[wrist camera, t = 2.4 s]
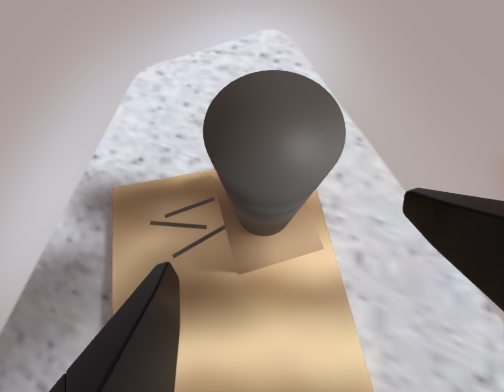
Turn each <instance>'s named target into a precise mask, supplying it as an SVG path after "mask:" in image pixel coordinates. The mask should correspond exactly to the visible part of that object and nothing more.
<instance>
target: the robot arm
mask: <svg viewBox="0 0 504 392" xmlns="http://www.w3.org/2000/svg"><path fill="white" fill-rule="evenodd" d="M403 213H404V215H405V216H406V217H407V218H408V219H409V221H410V222H411V223H412V224H413V225H414V226H415V227H416V228H417V229H418V230H419V232H420V233H421V234H422V235H423V236H424V237H425V238H426V239H427V240H428V242H429V243H430V244H431V245H432V246H433V247H434V248H435V249H436V250H437V251H438V252H439V253H441V254H442V255H443V256H444V257H445V258H446V259H447V260H448V261H449V262H450V263H451V264H452V265H454V266H455V267H456V268H457V269H458V270H459V271H460V272H461V273H462V274H463V275H464V276H466V277H467V278H468V279H469V280H470V281H471V282H472V283H473V284H474V285H475V286H476V287H477V288H479V289H480V290H481V291H482V292H483V293H484V294H485V295H486V296H487V297H488V298H489V299H491V300H492V301H493V302H494V303H495V304H496V305H497V306H498V307H499V308H500V309H502V310H503V311H504V201H500V200H493V199H486V198H480V197H474V196H468V195H461V194H455V193H449V192H442V191H436V190H429V189H423V188H415V189H412V190H409V191H406V193H405V195H404V202H403ZM179 336H180V282H179V277H178V275H177V273H176V272H175V270H174V268H173V266H172V265H171V263H170V262H168V261H166V262H163V263H159V264H157V265H156V266H155V267H154V268H153V269H152V270H151V272H150V273H149V274H148V275H147V276H146V277H145V279H144V280H143V281H142V282H141V283H140V285H139V286H138V287H137V288H136V289H135V290H134V292H133V293H132V294H131V295H130V296H129V298H128V299H127V300H126V301H125V302H124V303H123V305H122V306H121V307H120V308H119V309H118V311H117V312H116V313H115V314H114V315H113V317H112V318H111V319H110V320H109V321H108V322H107V324H106V325H105V326H104V327H103V328H102V330H101V331H100V332H99V333H98V334H97V335H96V337H95V338H94V339H93V340H92V341H91V343H90V344H89V345H88V346H87V347H86V348H85V350H84V351H83V352H82V353H81V354H80V355H79V357H78V358H77V359H76V360H75V361H74V363H73V364H72V365H71V366H70V367H69V368H68V370H67V371H66V374H63V375H62V377H61V378H60V379H59V380H58V381H57V383H56V384H55V385H54V386H53V387H52V388H51V390H50V391H49V392H174V390H175V379H176V368H177V357H178V347H179Z"/></svg>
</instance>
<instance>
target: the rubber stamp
mask: <svg viewBox="0 0 504 392" xmlns="http://www.w3.org/2000/svg"><path fill="white" fill-rule="evenodd" d="M345 135H346V130H345V122H344V118H343V115H342V112H341V110H340V108H339V106H338V104H337V102H336V101H335V99H334V98H333V97H332V96H331V94H330V93H329V92H328V91H327V90H326V89H324V88H323V87H322V86H321V85H319V84H318V83H316V82H315V81H313V80H311V79H309V78H307V77H305V76H303V75H300V74H297V73H293V72H288V71H281V70H267V71H259V72H254V73H251V74H248V75H245V76H242V77H240V78H238V79H236V80H234V81H233V82H231V83H230V84H228V85H227V86H226V87H224V88H223V89H222V90H221V91H220V92H219V93H218V94H217V96H216V97H215V98H214V99H213V101H212V102H211V104H210V106H209V108H208V110H207V113H206V116H205V119H204V125H203V138H204V144H205V147H206V150H207V153H208V155H209V157H210V159H211V162H212V164H213V166H214V168H215V170H216V171H213V172H211V174H212V178H213V182H214V185H215V189H216V193H217V197H218V201H219V205H220V209H221V213H222V216H223V220H224V224H225V228H226V232H227V236H228V240H229V244H230V247H231V251H232V255H233V259H234V263H235V267H236V271H237V275H241V274H245V273H248V272H251V271H254V270H258V269H261V268H264V267H267V266H271V265H274V264H277V263H280V262H283V261H287V260H290V259H293V258H296V257H300V256H303V255H306V254H309V253H313V252H316V251H319V250H322V249H324V247H323V245H322V242H321V239H320V237H319V234H318V231H317V229H316V226H315V224H314V221H313V218H312V216H311V213H310V210H309V208H308V205H307V203H306V201H307V199H308V198H309V197H310V196H311V194H312V193H313V192H314V191H315V189H316V188H317V187H318V186H319V184H320V183H321V182H322V181H323V179H324V178H325V177H326V176H327V174H328V173H329V172H330V171H331V169H332V168H333V167H334V166H335V164H336V163H337V161H338V159H339V158H340V156H341V153H342V151H343V148H344V143H345Z"/></svg>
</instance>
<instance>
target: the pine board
mask: <svg viewBox="0 0 504 392" xmlns="http://www.w3.org/2000/svg"><path fill="white" fill-rule="evenodd" d="M213 171H216V170H210V171H204V172H199V173H193V174H187V175H182V176H176V177H171V178H165V179H160V180H154V181H148V182H143V183H137V184H132V185H126V186H121V187H115V188H113V256H112V317H113V315H114V314H115V313H116V312H117V311H118V309H119V308H120V307H121V306H122V305H123V303H124V302H125V301H126V300H127V299H128V298H129V296H130V295H131V294H132V293H133V292H134V290H135V289H136V288H137V287H138V286H139V285H140V283H141V282H142V281H143V280H144V279H145V277H146V276H147V275H148V274H149V273H150V272H151V270H152V269H153V268H154V267H155V266H156V265H157V264H159V263H163V262H166V261H168V262H170V263H171V265H172V266H173V268H174V270H175V272H176V273H177V275H178V277H179V282H180V336H179V347H178V357H177V368H176V379H175V390H174V392H374V390H373V386H372V383H371V379H370V376H369V372H368V369H367V365H366V362H365V358H364V355H363V351H362V348H361V344H360V341H359V337H358V334H357V330H356V327H355V323H354V320H353V316H352V312H351V309H350V305H349V302H348V298H347V295H346V291H345V288H344V284H343V281H342V277H341V274H340V270H339V267H338V263H337V260H336V256H335V253H334V249H333V246H332V242H331V238H330V235H329V231H328V228H327V224H326V221H325V217H324V214H323V210H322V207H321V203H320V200H319V196H318V193H317V189H315V191H314V192H313V193H312V194H311V196H310V197H309V198H308V199H307V201H306V203H307V205H308V208H309V210H310V213H311V216H312V218H313V221H314V224H315V226H316V229H317V231H318V234H319V237H320V239H321V242H322V245H323V247H324V249H322V250H319V251H316V252H313V253H309V254H306V255H303V256H300V257H296V258H293V259H290V260H287V261H283V262H280V263H277V264H274V265H271V266H267V267H264V268H261V269H258V270H254V271H251V272H248V273H245V274H241V275H237V271H236V267H235V263H234V259H233V255H232V251H231V247H230V244H229V240H228V236H227V232H226V228H225V224H224V220H223V216H222V213H221V209H220V205H219V201H218V197H217V193H216V189H215V185H214V182H213V178H212V174H211V172H213Z"/></svg>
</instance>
